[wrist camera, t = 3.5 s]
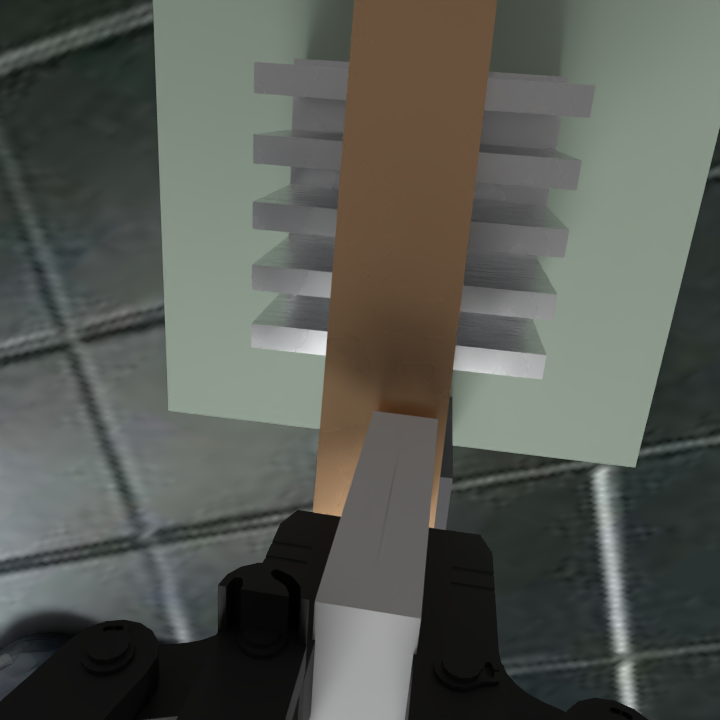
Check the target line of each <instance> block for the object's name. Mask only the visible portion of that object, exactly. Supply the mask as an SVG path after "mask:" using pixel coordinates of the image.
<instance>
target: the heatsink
mask: <svg viewBox="0 0 720 720" xmlns="http://www.w3.org/2000/svg"><path fill="white" fill-rule="evenodd" d="M348 71H349V62H340V61H325V60H311V59H296V58H294V65H292V64H278V63H263V62H254V93H257V94H270V95H283V96H293V110H292V129H290V130H282V131H275V132H267V133H260V134H253V164H265V165H277V166H289V167H291V176H290V184H289V185H287V186H285V187H283V188H281V189H279V190H277V191H275V192H272V193H270V194H268V195H266V196H264V197H262V198H260V199H257V200H255V201H253V221H252V229H258V230H269V231H280V232H289V236H288V237H287V238H286V239H284V240H283V241H282V242H280V243H279V244H278V245H277V246H275V247H274V248H273V249H271V250H270V251H269V252H268V253H266V254H265V255H264V256H262V257H261V258H260V259H259V260H257V261H256V262H255V263H254V264H252V290H256V291H266V292H275V293H279V294H278V296H277V297H276V298H275V299H274V300H273V301H272V302H271V303H270V304H269V305H268V306H267V307H266V308H265V309H264V311H263V312H262V313H261V314H260V315H259V316H258V317H257V318H256V319H255V320H254V321H253V322H252V323H251V347H252V348H262V349H271V350H280V351H289V352H298V353H307V354H316V355H325V356H326V345H327V332H328V320H329V307H330V295H331V283H332V270H333V258H334V245H335V233H336V220H337V208H338V196H339V183H340V171H341V158H342V146H343V133H344V121H345V109H346V96H347V84H348ZM567 81H568V77H560V76H545V75H531V74H516V73H501V72H489V74H488V82H487V90H486V99H485V107H484V115H483V124H482V132H481V140H480V149H479V157H478V165H477V174H476V182H475V190H474V199H473V207H472V215H471V224H470V232H469V240H468V249H467V257H466V265H465V274H464V282H463V290H462V299H461V307H460V315H459V324H458V332H457V340H456V349H455V357H454V365H453V370H460V371H469V372H478V373H487V374H496V375H505V376H514V377H523V378H532V379H541V380H542V379H543V373H544V368H545V362H546V357H547V355H546V352H545V349H544V347H543V344H542V342H541V339H540V336H539V334H538V331H537V328H536V326H535V323H534V321H533V319H539V320H549V321H553V318H554V312H555V307H556V301H557V296H558V294H557V293H556V291H555V289H554V287H553V286H552V284H551V282H550V280H549V279H548V277H547V275H546V273H545V272H544V270H543V268H542V266H541V264H540V263H539V261H538V256H547V257H558V258H564V257H565V252H566V246H567V241H568V235H569V229H568V228H567V227H566V226H565V225H564V224H563V223H562V222H561V221H560V220H559V219H558V218H557V217H556V216H555V215H554V214H553V213H552V211H551V210H550V209H549V208H548V207H547V200H548V194H549V188H551V189H563V190H575V191H577V185H578V180H579V174H580V169H581V163H582V160H580V159H577V158H575V157H572V156H570V155H567V154H565V153H562V152H560V151H557V150H556V146H557V140H558V134H559V128H560V122H561V116H568V117H583V118H590V114H591V108H592V103H593V97H594V92H595V86H596V85H582V84H567Z"/></svg>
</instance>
